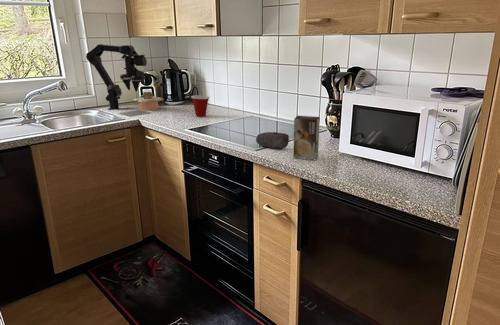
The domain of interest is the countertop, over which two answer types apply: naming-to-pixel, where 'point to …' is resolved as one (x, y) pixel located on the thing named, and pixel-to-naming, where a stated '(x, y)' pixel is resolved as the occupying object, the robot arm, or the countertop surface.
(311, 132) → the coffee box
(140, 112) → the mat
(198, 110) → the plastic cup
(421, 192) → the countertop surface
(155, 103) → the bowl
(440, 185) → the countertop surface
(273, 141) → the perforated stone tool
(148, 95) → the lid
